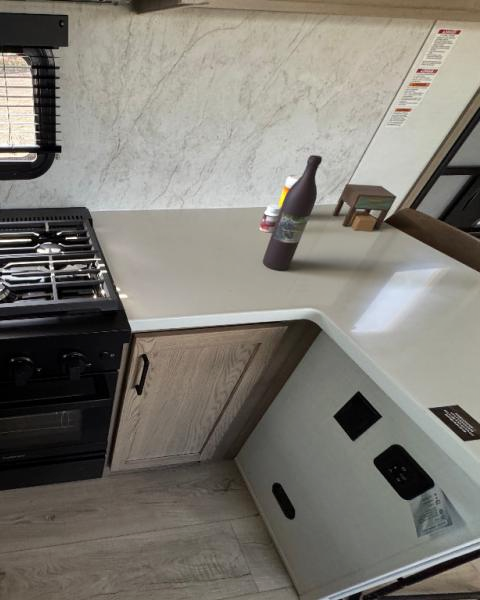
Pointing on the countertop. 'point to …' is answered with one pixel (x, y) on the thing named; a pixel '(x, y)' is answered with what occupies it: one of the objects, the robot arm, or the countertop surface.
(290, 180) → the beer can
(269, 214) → the pill bottle
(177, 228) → the countertop surface
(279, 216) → the wine bottle
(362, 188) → the drawer table
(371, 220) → the storage box
